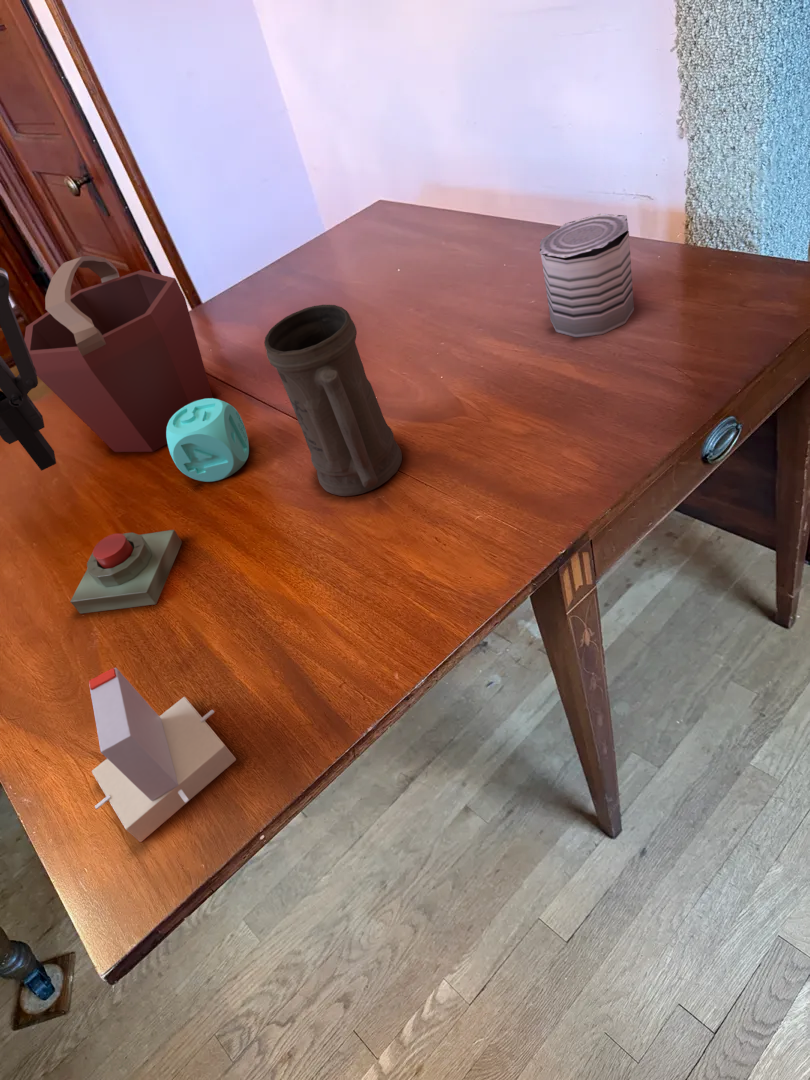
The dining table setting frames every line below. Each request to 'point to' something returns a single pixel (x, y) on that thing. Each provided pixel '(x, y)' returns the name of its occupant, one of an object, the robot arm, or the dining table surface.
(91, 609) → the button block
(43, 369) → the bucket
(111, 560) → the button
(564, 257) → the can
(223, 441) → the decorative dice
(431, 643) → the dining table surface
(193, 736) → the tap base
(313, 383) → the beer stein
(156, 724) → the grey lever handle
